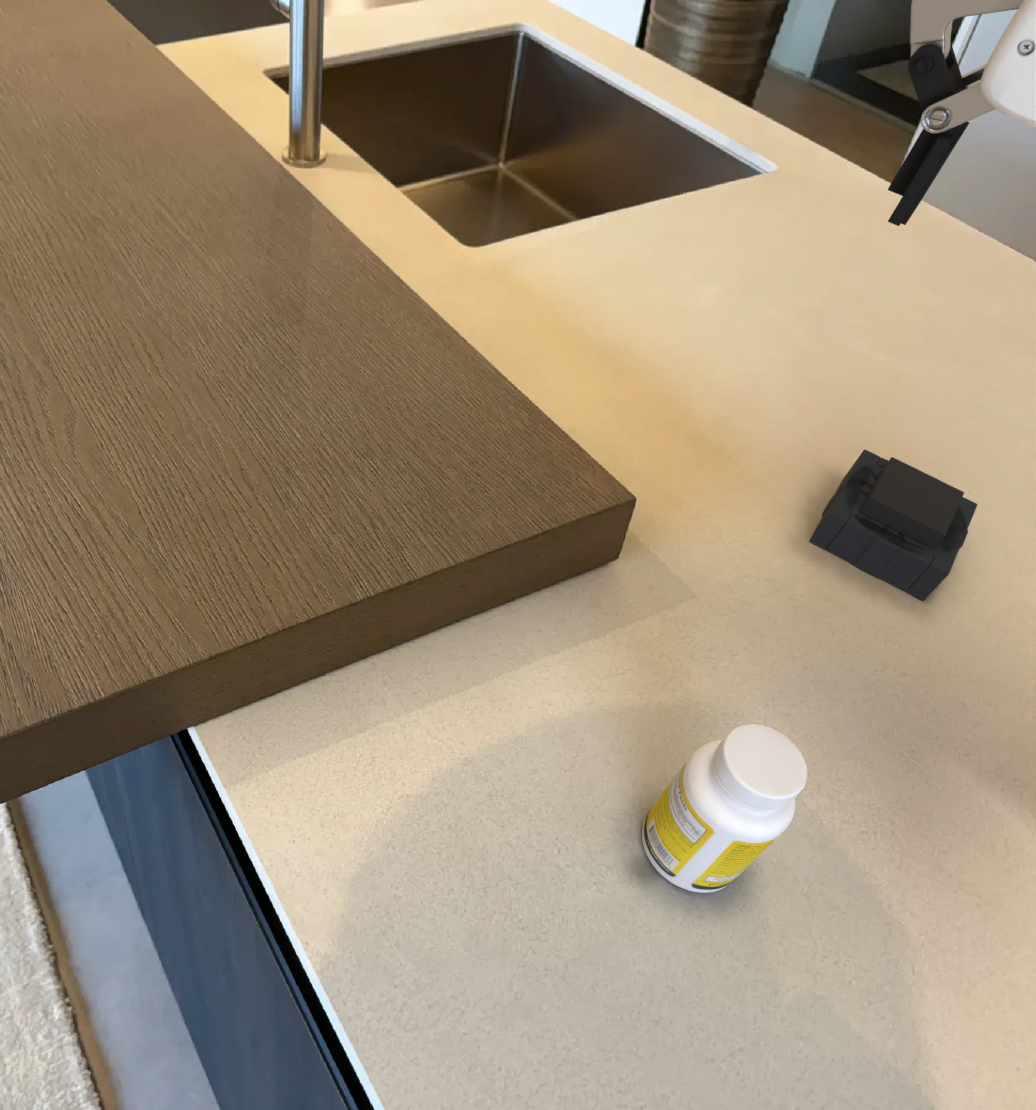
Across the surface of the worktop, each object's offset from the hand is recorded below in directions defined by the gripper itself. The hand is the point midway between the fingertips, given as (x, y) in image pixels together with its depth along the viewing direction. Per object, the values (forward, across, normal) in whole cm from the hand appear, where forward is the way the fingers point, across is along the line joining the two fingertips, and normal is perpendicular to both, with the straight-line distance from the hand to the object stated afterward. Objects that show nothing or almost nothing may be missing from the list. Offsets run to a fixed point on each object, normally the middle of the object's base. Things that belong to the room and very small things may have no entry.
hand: (1014, 257), depth 45 cm
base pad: (+28, +5, +15) cm, 32 cm away
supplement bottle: (+28, +3, -16) cm, 33 cm away
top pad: (+28, +5, +15) cm, 32 cm away
